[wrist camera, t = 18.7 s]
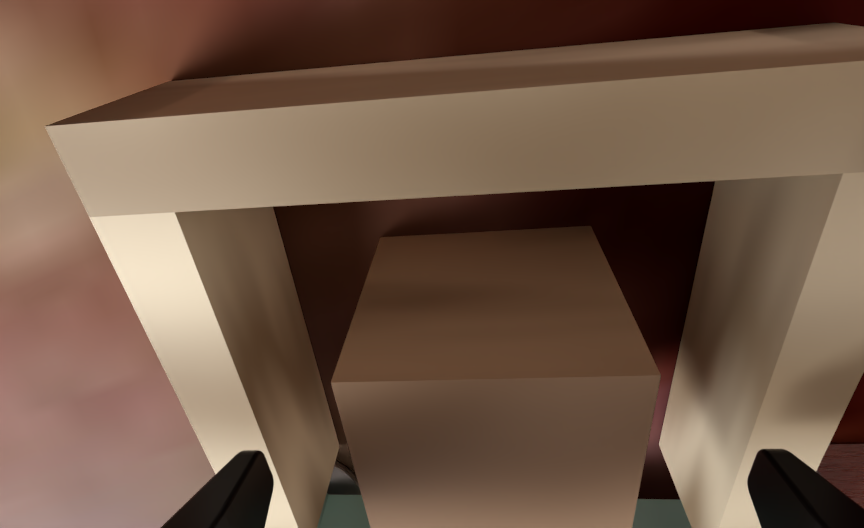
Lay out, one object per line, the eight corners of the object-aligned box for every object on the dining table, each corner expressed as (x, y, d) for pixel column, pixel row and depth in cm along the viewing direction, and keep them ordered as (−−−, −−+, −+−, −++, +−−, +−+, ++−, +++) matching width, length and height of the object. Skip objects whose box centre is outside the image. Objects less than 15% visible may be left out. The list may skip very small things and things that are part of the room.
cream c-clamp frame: (710, 444, 15) (771, 564, 12) (295, 446, 16) (255, 555, 13) (834, 22, 9) (1018, 48, 6) (168, 81, 10) (44, 126, 7)
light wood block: (578, 381, 14) (625, 561, 10) (406, 385, 15) (378, 557, 10) (589, 224, 11) (660, 375, 7) (380, 235, 12) (330, 382, 8)
